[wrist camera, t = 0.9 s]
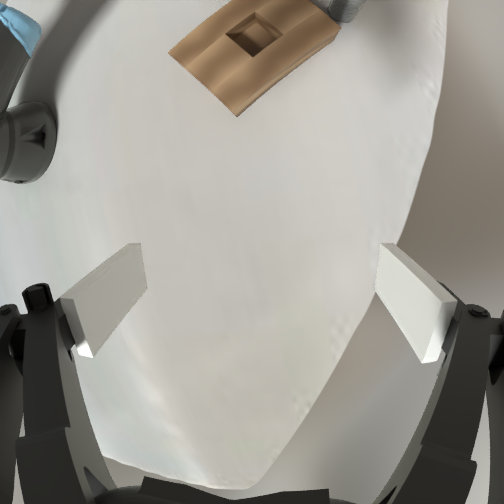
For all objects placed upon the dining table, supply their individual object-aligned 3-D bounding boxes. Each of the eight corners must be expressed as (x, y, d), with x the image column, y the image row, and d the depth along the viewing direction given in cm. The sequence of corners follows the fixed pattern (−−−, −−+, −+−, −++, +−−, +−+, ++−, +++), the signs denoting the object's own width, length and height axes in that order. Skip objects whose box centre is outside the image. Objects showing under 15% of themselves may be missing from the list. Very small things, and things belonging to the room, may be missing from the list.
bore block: (179, 63, 33) (167, 53, 28) (273, -9, 28) (273, -26, 23) (237, 117, 35) (232, 111, 30) (333, 40, 30) (341, 27, 26)
